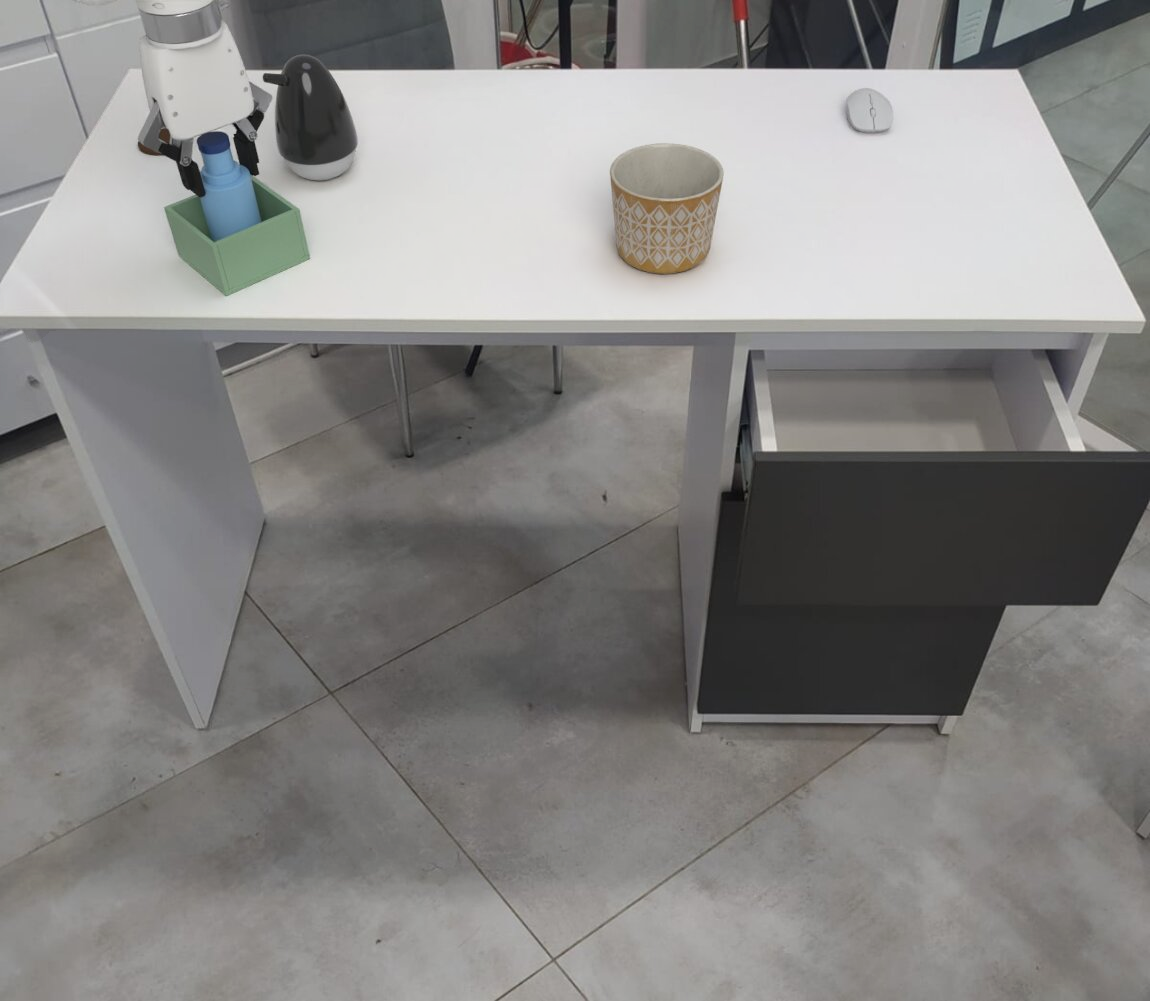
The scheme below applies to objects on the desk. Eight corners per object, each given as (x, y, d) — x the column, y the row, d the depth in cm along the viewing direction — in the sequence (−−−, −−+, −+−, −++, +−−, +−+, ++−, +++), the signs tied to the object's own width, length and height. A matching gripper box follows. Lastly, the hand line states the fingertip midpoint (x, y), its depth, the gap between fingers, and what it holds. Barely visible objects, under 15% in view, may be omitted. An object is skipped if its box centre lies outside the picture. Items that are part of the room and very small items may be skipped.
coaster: (153, 160, 148) (152, 157, 148) (129, 142, 152) (128, 139, 152) (200, 143, 152) (199, 140, 151) (175, 125, 155) (175, 122, 155)
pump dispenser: (269, 167, 147) (243, 53, 136) (339, 144, 151) (319, 31, 140) (303, 199, 141) (279, 83, 130) (376, 174, 145) (358, 59, 134)
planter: (618, 218, 137) (619, 138, 129) (721, 227, 135) (728, 147, 127) (600, 276, 128) (600, 194, 120) (710, 286, 126) (717, 204, 119)
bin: (226, 296, 126) (211, 246, 122) (178, 256, 132) (163, 206, 127) (310, 258, 131) (299, 208, 127) (261, 221, 137) (249, 173, 133)
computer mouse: (850, 136, 150) (854, 114, 148) (840, 102, 157) (843, 81, 155) (895, 135, 150) (899, 114, 148) (882, 102, 157) (886, 81, 155)
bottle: (232, 273, 128) (201, 157, 118) (207, 252, 131) (174, 137, 121) (277, 253, 131) (250, 139, 121) (251, 233, 134) (223, 120, 124)
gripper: (238, -14, 118) (273, 144, 131) (83, 33, 110) (137, 196, 123) (275, 6, 114) (307, 167, 127) (118, 56, 106) (169, 223, 119)
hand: (223, 180), depth 125 cm, fingers closed on bottle, 6 cm apart
